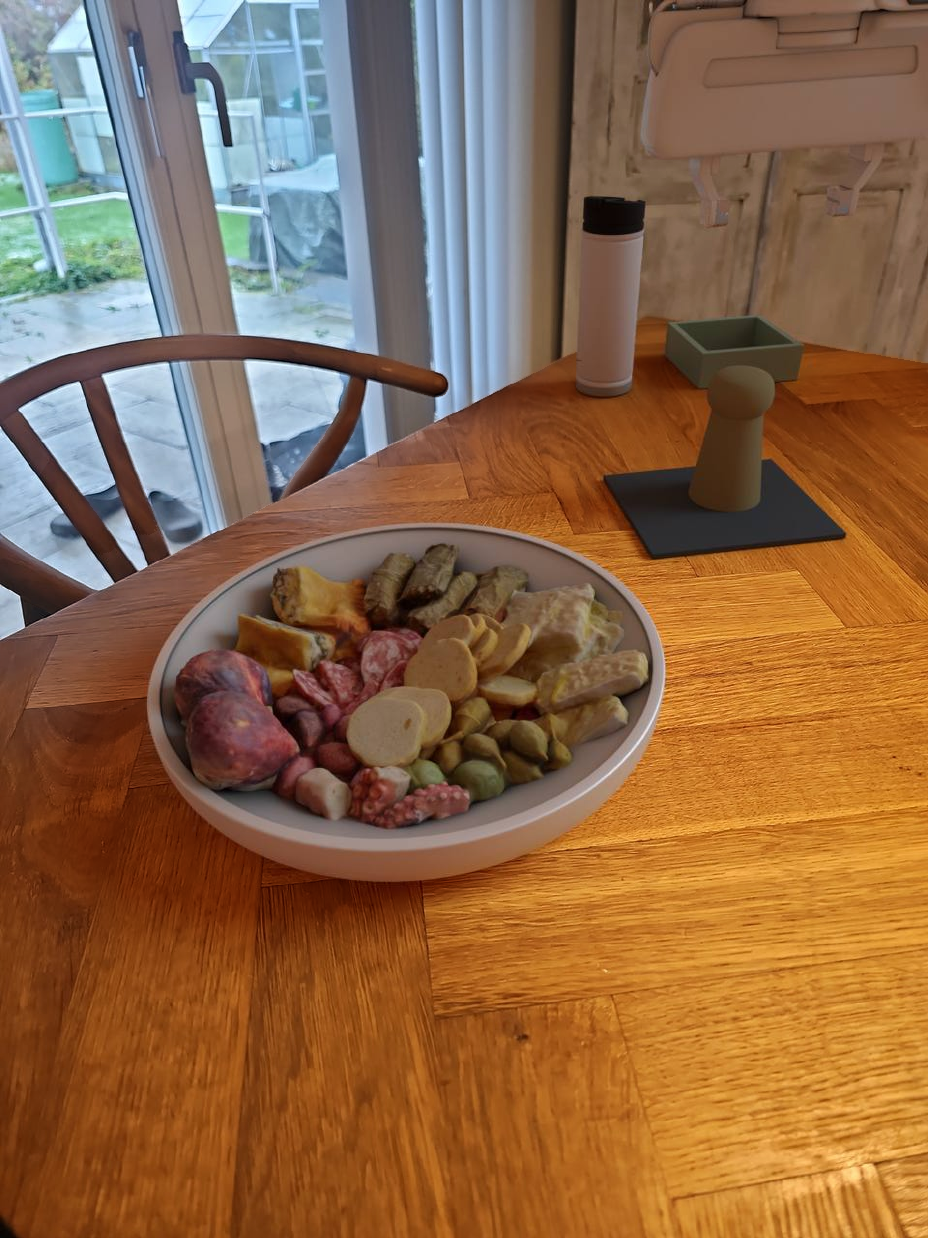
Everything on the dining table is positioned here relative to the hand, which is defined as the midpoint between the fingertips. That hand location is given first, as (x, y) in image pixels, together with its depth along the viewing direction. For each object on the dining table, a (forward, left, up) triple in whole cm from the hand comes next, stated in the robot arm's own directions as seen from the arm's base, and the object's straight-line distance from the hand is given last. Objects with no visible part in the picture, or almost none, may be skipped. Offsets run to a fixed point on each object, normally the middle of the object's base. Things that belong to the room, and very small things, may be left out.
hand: (776, 220), depth 61 cm
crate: (-12, -31, -22) cm, 40 cm away
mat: (+2, +1, -22) cm, 22 cm away
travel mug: (+4, -28, -23) cm, 36 cm away
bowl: (+30, +22, -23) cm, 44 cm away
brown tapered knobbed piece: (+1, 0, -22) cm, 22 cm away
